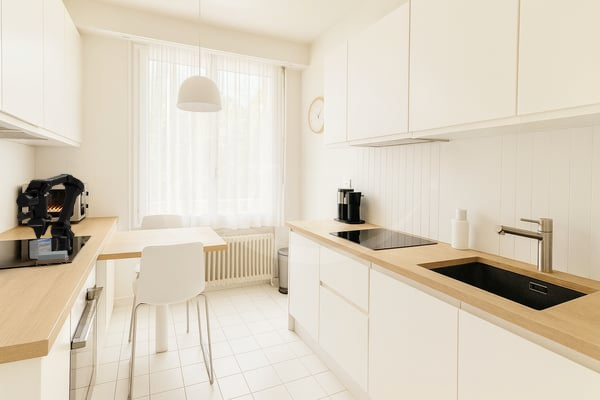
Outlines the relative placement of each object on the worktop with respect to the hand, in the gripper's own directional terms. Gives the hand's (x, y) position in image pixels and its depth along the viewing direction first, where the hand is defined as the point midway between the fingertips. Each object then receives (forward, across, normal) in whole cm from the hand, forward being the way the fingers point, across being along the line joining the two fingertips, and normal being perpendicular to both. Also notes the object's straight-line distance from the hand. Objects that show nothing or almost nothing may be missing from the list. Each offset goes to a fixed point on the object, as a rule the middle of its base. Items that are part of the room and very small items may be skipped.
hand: (40, 237), depth 159 cm
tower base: (+10, +13, +7) cm, 18 cm away
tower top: (+8, +13, +7) cm, 17 cm away
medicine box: (+10, 0, 0) cm, 10 cm away
